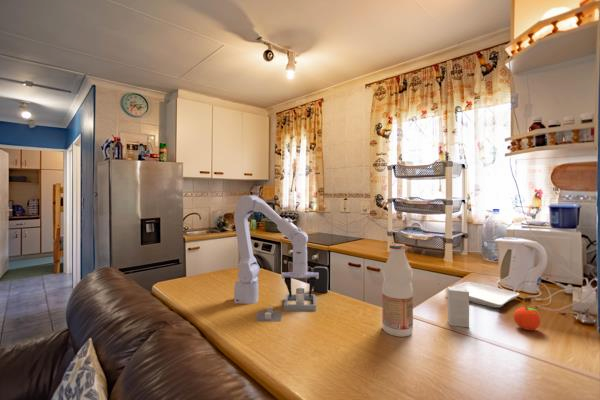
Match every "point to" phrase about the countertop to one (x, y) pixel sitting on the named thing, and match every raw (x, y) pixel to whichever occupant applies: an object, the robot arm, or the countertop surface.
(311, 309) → the parts tray
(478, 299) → the salad plate
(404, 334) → the fruit juice
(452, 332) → the countertop surface
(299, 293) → the cylinder
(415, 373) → the countertop surface
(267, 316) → the plate
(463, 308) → the skincare box
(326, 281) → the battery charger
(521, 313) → the red tomato
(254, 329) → the countertop surface
